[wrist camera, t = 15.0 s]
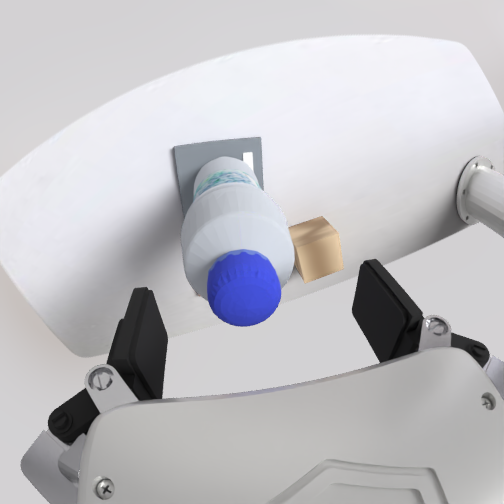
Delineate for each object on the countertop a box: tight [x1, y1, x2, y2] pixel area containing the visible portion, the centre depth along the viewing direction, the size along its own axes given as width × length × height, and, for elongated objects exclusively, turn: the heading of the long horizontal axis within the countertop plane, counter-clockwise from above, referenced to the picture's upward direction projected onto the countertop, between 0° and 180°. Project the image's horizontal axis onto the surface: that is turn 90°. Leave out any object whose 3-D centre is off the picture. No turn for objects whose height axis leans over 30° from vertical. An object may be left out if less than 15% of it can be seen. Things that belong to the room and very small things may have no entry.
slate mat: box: [174, 137, 264, 219], centre depth 29 cm, size 9×9×1 cm
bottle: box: [181, 156, 295, 326], centre depth 20 cm, size 7×7×20 cm
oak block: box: [288, 216, 344, 283], centre depth 33 cm, size 5×5×5 cm
